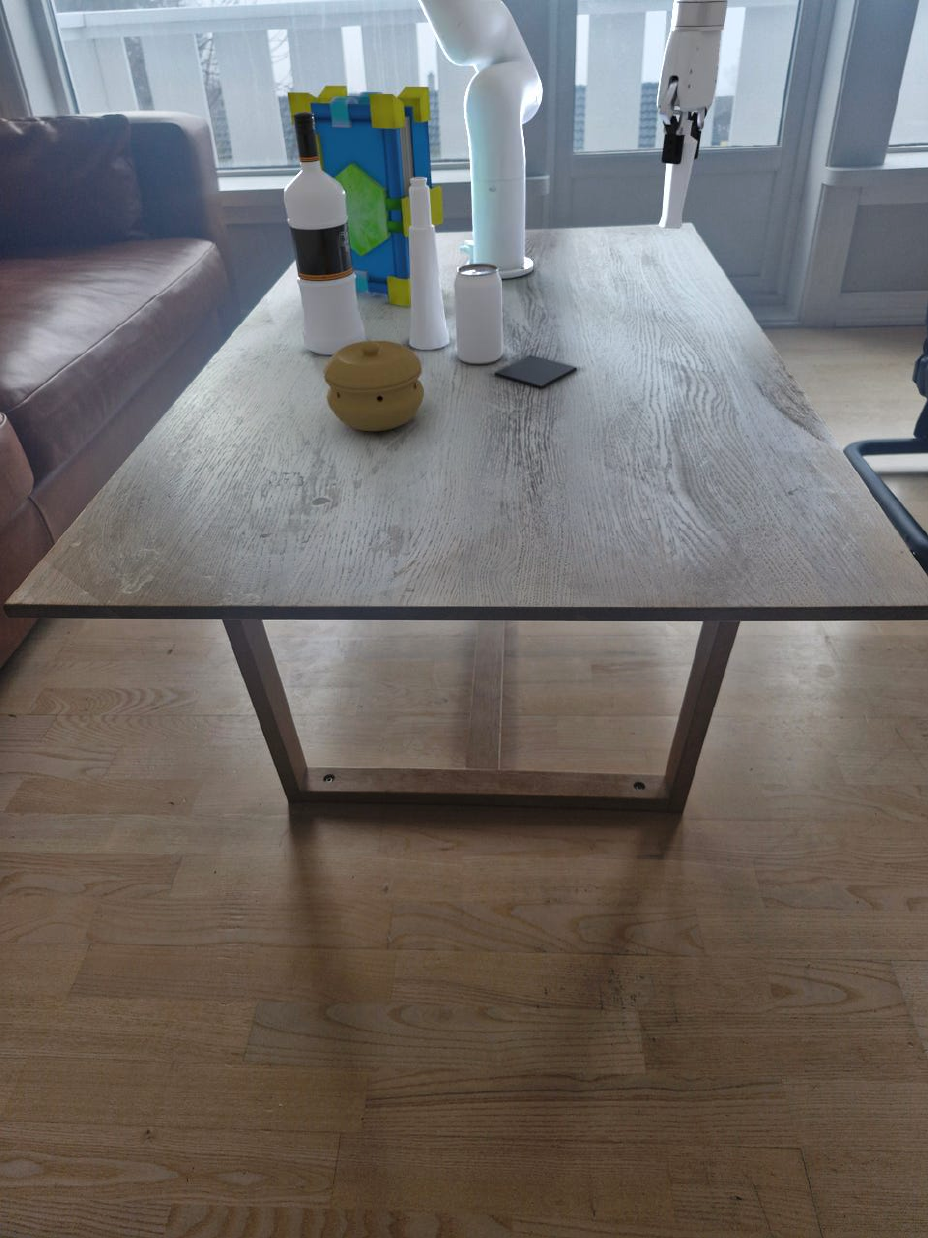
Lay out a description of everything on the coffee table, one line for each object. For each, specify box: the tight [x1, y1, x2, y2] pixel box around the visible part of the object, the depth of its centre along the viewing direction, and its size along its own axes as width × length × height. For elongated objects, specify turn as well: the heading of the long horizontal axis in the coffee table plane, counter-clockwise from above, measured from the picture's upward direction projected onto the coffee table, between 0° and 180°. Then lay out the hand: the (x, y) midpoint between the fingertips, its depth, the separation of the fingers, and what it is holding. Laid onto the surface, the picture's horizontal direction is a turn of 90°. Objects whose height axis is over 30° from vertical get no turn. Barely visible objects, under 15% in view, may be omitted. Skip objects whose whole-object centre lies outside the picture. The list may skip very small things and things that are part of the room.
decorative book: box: [286, 85, 444, 308], centre depth 132 cm, size 14×23×30 cm, turn 58°
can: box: [453, 263, 503, 366], centre depth 110 cm, size 6×6×12 cm
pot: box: [323, 339, 425, 432], centre depth 95 cm, size 12×12×10 cm
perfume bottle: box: [658, 120, 698, 230], centre depth 128 cm, size 5×4×15 cm
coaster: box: [494, 354, 577, 390], centre depth 108 cm, size 8×8×1 cm
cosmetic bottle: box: [408, 177, 450, 351], centre depth 112 cm, size 6×6×22 cm
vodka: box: [283, 112, 367, 356], centre depth 111 cm, size 9×9×30 cm
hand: (679, 159), depth 127 cm, fingers closed on perfume bottle, 4 cm apart
